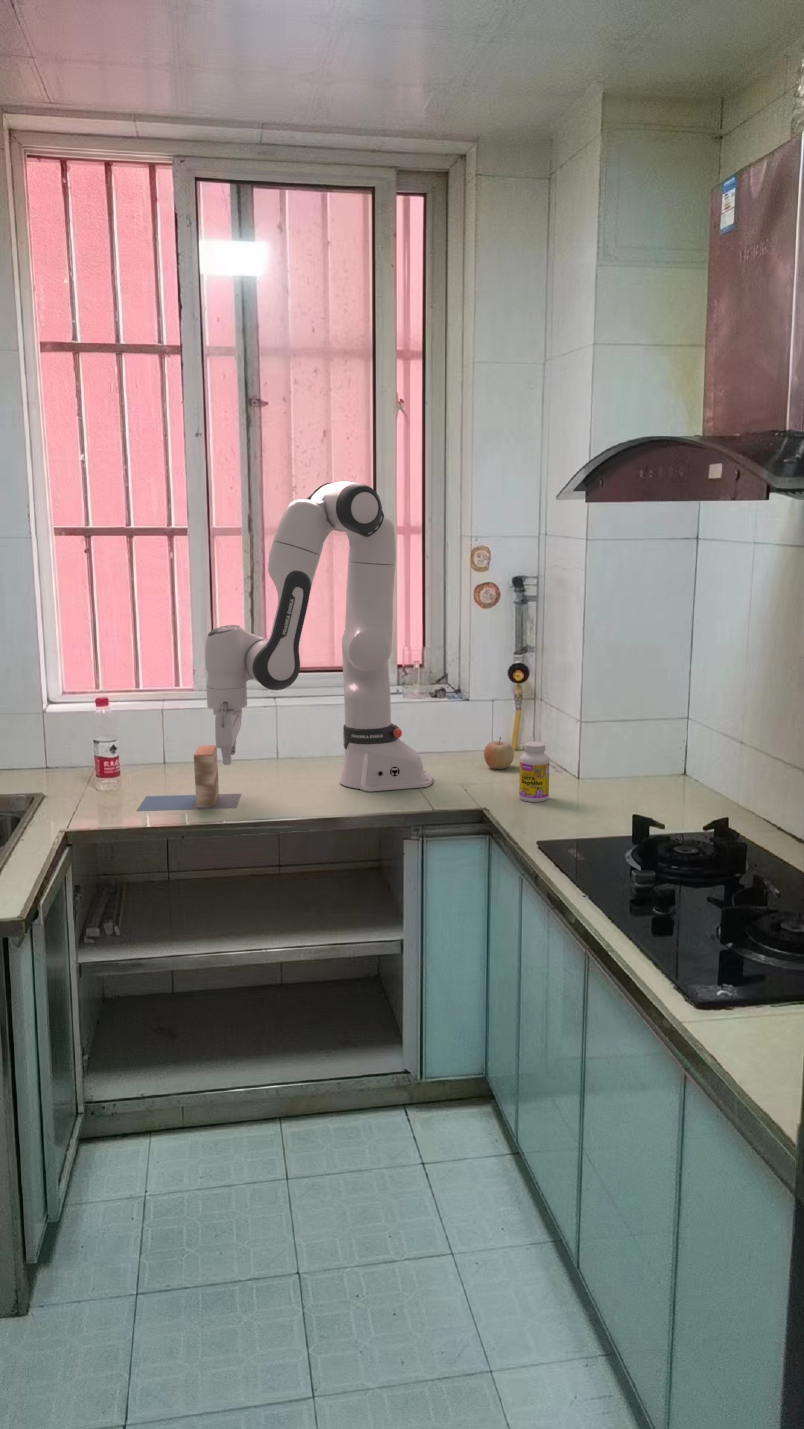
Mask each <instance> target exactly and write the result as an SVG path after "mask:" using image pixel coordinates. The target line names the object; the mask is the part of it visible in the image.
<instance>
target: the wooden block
mask: <svg viewBox="0 0 804 1429" xmlns="http://www.w3.org/2000/svg"><path fill="white" fill-rule="evenodd" d="M193 766H194V783H195V785H194V786H195V795H196V806H197V807H215V805H216V802H217V800H218V798H219V794H220V786H219V785H220V784H219V770H218V769H219V765H218V748H217V747H216V744H214V745H198V747H197V749H195V752H194V754H193Z"/></svg>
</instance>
